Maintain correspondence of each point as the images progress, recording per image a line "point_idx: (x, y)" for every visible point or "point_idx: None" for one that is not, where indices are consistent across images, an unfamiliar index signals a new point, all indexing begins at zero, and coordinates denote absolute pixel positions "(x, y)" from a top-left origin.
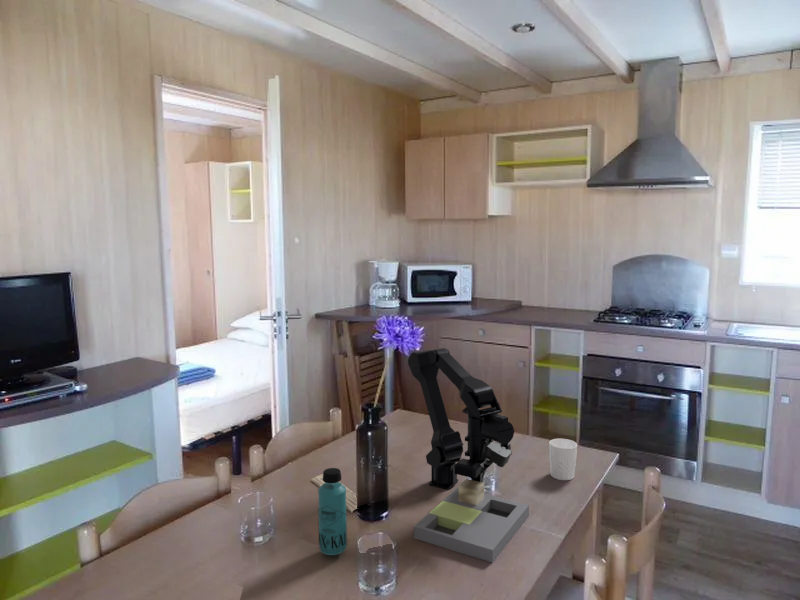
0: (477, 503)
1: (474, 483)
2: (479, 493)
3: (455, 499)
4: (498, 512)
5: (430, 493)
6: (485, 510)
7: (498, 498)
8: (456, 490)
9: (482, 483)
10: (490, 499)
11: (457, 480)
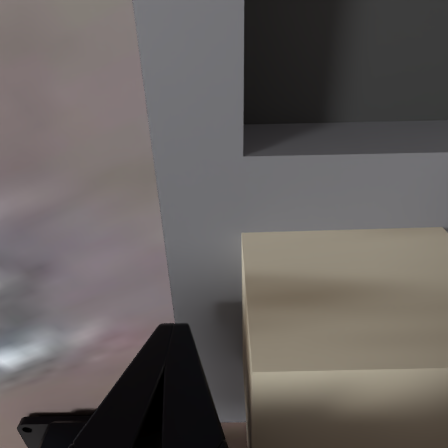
0: (418, 232)
1: (334, 441)
2: (409, 296)
3: None
4: (282, 23)
5: (230, 444)
6: (385, 133)
7: (176, 88)
8: (240, 414)
9: (287, 382)
10: (252, 161)
11: (29, 422)
